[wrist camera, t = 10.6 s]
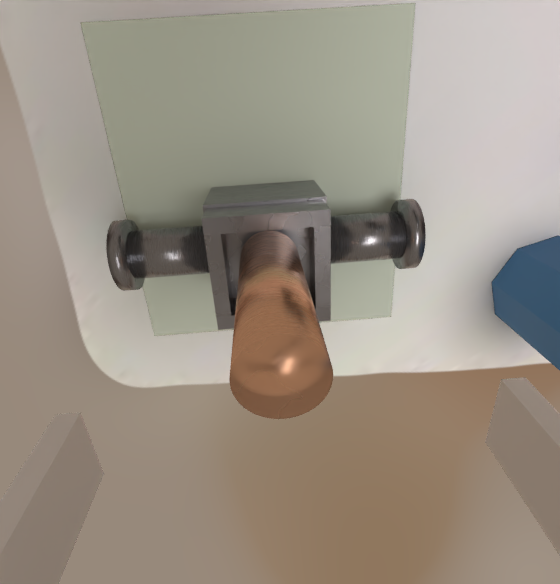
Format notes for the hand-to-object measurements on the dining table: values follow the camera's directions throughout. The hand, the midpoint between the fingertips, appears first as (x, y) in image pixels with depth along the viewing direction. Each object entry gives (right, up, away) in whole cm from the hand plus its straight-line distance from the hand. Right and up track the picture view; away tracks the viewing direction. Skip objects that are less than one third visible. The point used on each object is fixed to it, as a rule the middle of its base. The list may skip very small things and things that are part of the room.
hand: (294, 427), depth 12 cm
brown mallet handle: (-1, +7, +14) cm, 16 cm away
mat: (-2, +12, +19) cm, 22 cm away
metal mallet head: (-1, +8, +20) cm, 22 cm away
